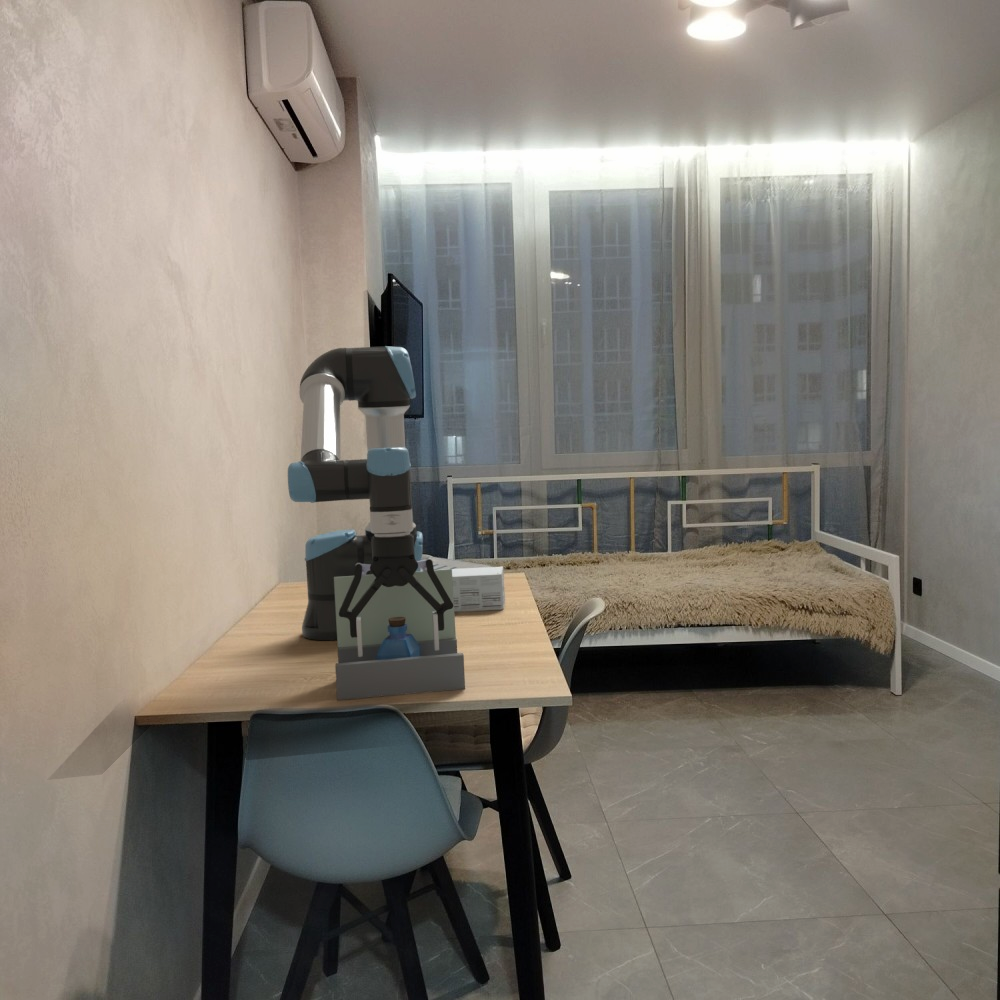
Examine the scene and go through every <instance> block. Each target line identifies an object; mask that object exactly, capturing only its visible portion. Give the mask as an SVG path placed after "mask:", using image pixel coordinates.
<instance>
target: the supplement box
mask: <svg viewBox="0 0 1000 1000" xmlns="http://www.w3.org/2000/svg"><path fill="white" fill-rule="evenodd" d="M441 570H445V569H441ZM504 575H505V574H504V566H502V565H501V566H494V567H482V568H462V569H452V580H453V597H454V613H455V612H474V611H475V612H478V611H482V612H483V611H497V610H498V611H500V610H504V608H505V603H506V591H505V589H506V588H505V579H504V578H505V576H504Z"/></svg>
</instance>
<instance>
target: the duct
mask: <svg viewBox="0 0 1000 1000" xmlns="http://www.w3.org/2000/svg"><path fill="white" fill-rule="evenodd" d="M417 643H418V644H419V646H420V657H407V658H395V659H383V660H377V653H378V651H379V649H380V647H381V645H382V644H376V645H363V646H362V651H363V656H362V657H358V646H351V647H338V646H337V662H336V663H335V665H334V666H335V669H334V670H335V682H336V685H335V686H336V700H337V701H343V700H351V699H352V700H356V699H364V698H376V697H388V696H399V695H409V694H421V693H430V692H431V693H432V692H433V693H435V692H443V691H455V690H465V689H466V679H465V676H466V675H465V660H464V659H465V658H464V657H465V656H464V653H463V652H458V639H457V637H456V638H450V639H439V650H435V649H434V640H426V641H417Z"/></svg>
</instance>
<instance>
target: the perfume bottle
mask: <svg viewBox="0 0 1000 1000" xmlns="http://www.w3.org/2000/svg"><path fill="white" fill-rule="evenodd" d="M405 620H406V618H405V617H392V618H389V619H388V621H389V625H388V632H390V635H389V636H388V637H387V638H385V639H384V640H383V643H382V645H381V647H380V649H379V651H378V653H377V660H383V659H395V658H407V657H420V646H419V644H418V643H417V641H416V640H415V638H414V637H413V635H412V634H406V631H407V624H405Z"/></svg>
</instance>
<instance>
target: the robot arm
mask: <svg viewBox="0 0 1000 1000" xmlns="http://www.w3.org/2000/svg"><path fill="white" fill-rule="evenodd" d="M410 359H411V358H410V355H409V351H408V350H407V349H406V348H404V347H402V346H387V345H385V346H369V347H368V346H364V347H362V346H361V347H338V348H334V349H331V350H328V351H326V352H324V353H322V354H321V355H320V356H318V357H317V358H316V359H314V361H312V362H311V364H309V365H308V367H307V368H306V369H305V371H304V372H303V374H302V377H301V379H300V383H299V391H298V392H299V393H298V394H299V398H300V400H301V403H302V404H303V407H302V408H303V411H302V423H301V424H302V428H301V446H300V460H299V461H298V462H291V463H290V464H289V465H288V467H287V486H288V487H287V488H288V494H289V498H290V500H291V501H293V502H294V503H312V504H314V503H319V502H322V503H323V502H337V501H354V500H355V501H356V500H368V501H369V522H368V523H367V525H366V526H364V527H365V528H364V530H365V533H364V534H363V535H362V534H361V535H357V532H356V530H355V529H351V528H349V529H342V530H336V531H332V532H331V531H330V532H326V533H322V534H319V535H318V534H317V535H315V536H312V537H310V538H308V539H307V541H306V543H305V547H304V548H305V553H304V554H305V555H304V556H305V557H304V562H305V567H306V585H307V586H306V587H307V606H306V610H305V612H304V613H305V614H304V618H303V621H302V625H301V626H302V627H301V634H302V637H303V638H305V639H308V640H315V641H335V640H337V624H336V607H335V589H334V577H342V576H354V578H353V580H352V583H351V585H350V587H349V589H348V592H347V594H346V596H345V599H344V601H343V603H342V605H341V608H340V610H339V616H340V617H344V618H347V619H349V621H350V635H351V637H352V638H354V637H357V644H358V657H362V656H363V651H362V634H361V617H357V616H358V615H359V613H360V612H361V611H362V610H363V608H364V607H365V606H366V604H367V603H368V602H369V600H370V599H371V598H372V596H373V595H374V594H375V592H376V591H377V590H378V589H379V588H380V586H381V585H383V586H386V587H392V586H404V585H406V584H407V583H409V584H410V585H411V586H412V587H413V588H415V589H416V591H417V592H418V593H419V594H420V595H421V596H422V597H423V598H424V599H425V600H426V601H427V602H428V603H429V604H430V605H431V606H432V607H433V608H434V609H435V610H436V612H432V619H433V638H434V649H435V650H439V635H438V631H442V630H444V612H445V611H446V610H449V609H452V608H453V603H452V602H451V600H450V598H449V596H448V595H447V593H446V591H445V589H444V588H443V586H442V584H441V582H440V581H439V579H438V577H437V575H436V574H435V572H434V567H433V562H432V560H431V559H430V558H431V557H426V558H425V559H426V560H425V559H423V541H424V537H423V536H424V534H423V532H422V531H419V530H417V527H416V526H417V525H416V523H415V522H414V520H413V519H414V518H413V504H412V481H411V480H412V479H411V461H410V453H409V450H408V449H407V447H406V435H405V413H406V412H407V411H408V410H409V408H410V407H411V404H410V403H411V401H410V399H411V400H413V399H415V398H416V397H417V393H416V392H417V391H416V386H415V385H416V383H415V380H414V378H415V377H414V373H413V368H412V364H411V360H410ZM344 401H349V402H350V401H357V409H358V410H359V411H360V412H361V413H362V414H363V415H364V416H365V432H366V447H367V448H366V449H367V453H366V458H364V459H362V458H361V459H343V460H342V459H341V406H342V404H343V402H344ZM421 568H422V570H423V571H424V572H427V573H428V575H429V577H430V579H431V580H432V582H433V584H434V586H435V587H436V589H437V591H438V593H439V594H440V596H441V598H442V599H443V601H444V603H442V604H440V603H439V602H438V601H437V600H436V599H435V598H434V597H433V596H432V595H431V594H430V593H429V592H428V591H427V590H426V589H425V588H424V587H423V586H422V585H421V584H420V583H419V582H418V580H417V579H416V578H415V577H414V576H413V575H414V573H415V572H416V571H420V570H421ZM371 574H373V575H374V576H375V577H376V579H375V580H374V581H373V583H372V584H371V586H370V587H369V588H368V590H367V591H366V592H365V594H364V595H363V596H362V597H361V599H360V600H359V601H358V603H357V604H356V605H355V607H354V608H353V609H352V611H350V610H348V608H349V606H350V603H351V601H352V599H353V597H354V594H355V592H356V590H357V587H358V585H359V583H360V580H361V576H365V575H371ZM356 617H357V618H356Z"/></svg>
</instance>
